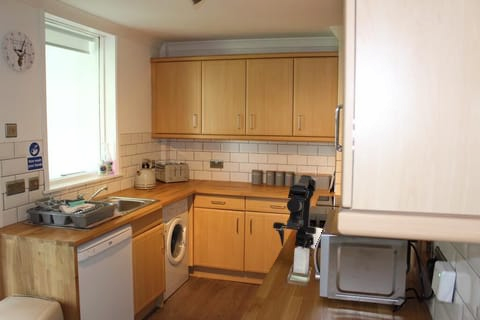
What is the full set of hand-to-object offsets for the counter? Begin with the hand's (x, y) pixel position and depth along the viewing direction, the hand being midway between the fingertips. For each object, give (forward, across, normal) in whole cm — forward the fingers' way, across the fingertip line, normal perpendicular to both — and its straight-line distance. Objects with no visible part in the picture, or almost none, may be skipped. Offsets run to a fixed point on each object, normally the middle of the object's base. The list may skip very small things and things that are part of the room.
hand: (292, 247), depth 190 cm
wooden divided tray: (+14, +3, +9) cm, 17 cm away
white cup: (+3, +4, +51) cm, 52 cm away
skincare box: (+13, +3, +14) cm, 19 cm away
